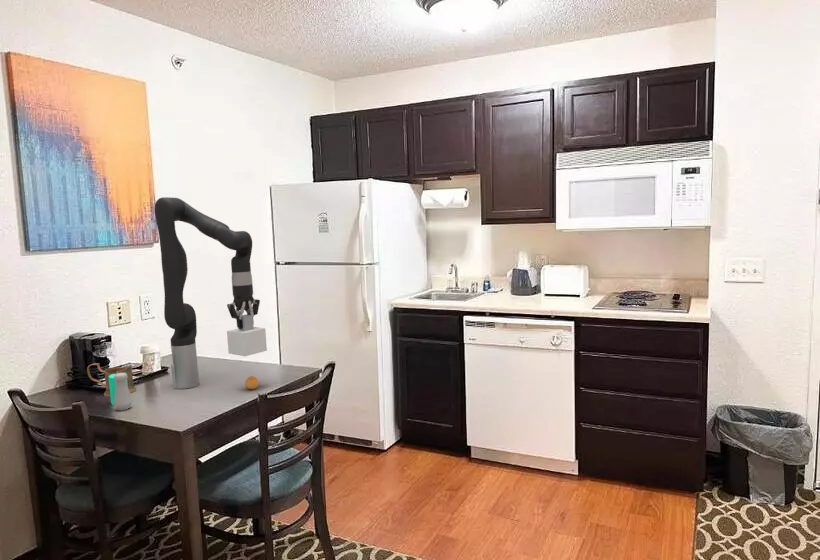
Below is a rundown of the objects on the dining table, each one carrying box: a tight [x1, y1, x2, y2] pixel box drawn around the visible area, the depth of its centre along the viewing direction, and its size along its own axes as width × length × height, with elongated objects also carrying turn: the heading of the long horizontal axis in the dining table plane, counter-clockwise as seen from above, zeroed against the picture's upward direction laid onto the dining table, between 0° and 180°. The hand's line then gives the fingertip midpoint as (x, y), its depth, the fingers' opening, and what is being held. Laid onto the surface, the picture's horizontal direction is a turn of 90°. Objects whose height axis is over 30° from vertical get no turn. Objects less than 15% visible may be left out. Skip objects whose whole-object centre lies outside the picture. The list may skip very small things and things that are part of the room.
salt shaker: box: [113, 373, 133, 411], centre depth 203 cm, size 6×6×13 cm
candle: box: [109, 373, 128, 406], centre depth 210 cm, size 6×6×12 cm
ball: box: [244, 375, 260, 390], centre depth 220 cm, size 5×5×5 cm
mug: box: [86, 362, 137, 398], centre depth 224 cm, size 12×18×12 cm, turn 91°
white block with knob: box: [226, 313, 268, 357], centre depth 219 cm, size 10×10×14 cm
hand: (245, 327), depth 219 cm, fingers closed on white block with knob, 4 cm apart
